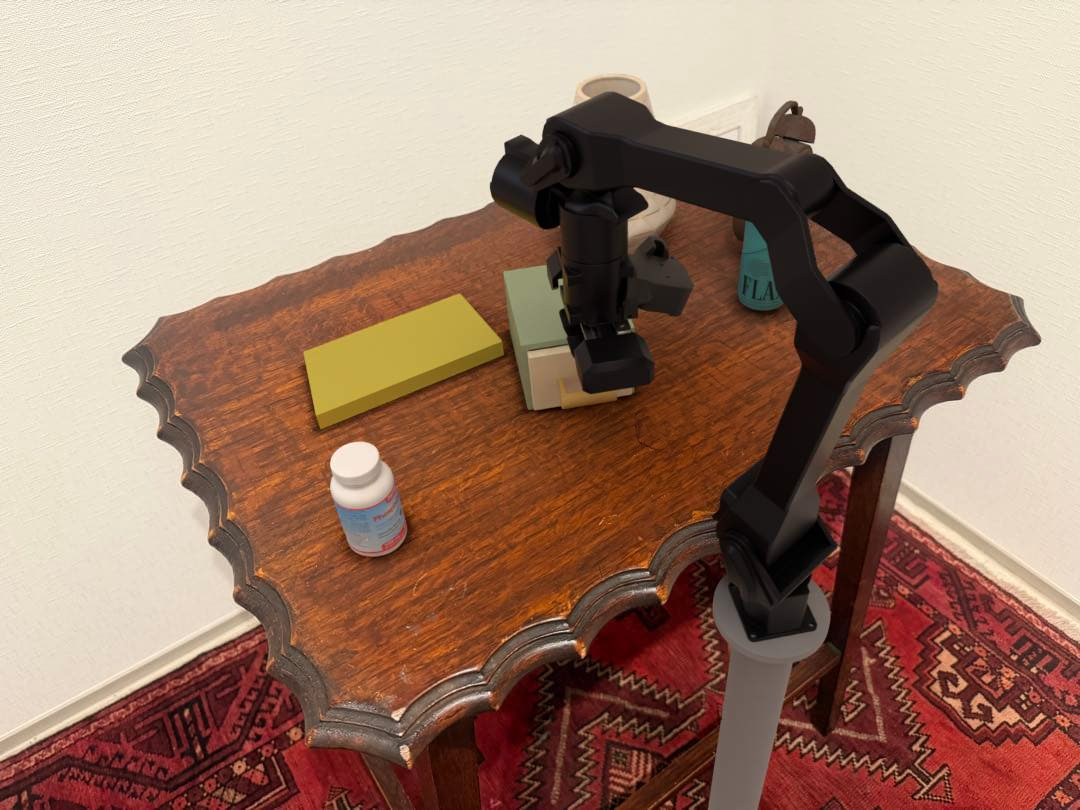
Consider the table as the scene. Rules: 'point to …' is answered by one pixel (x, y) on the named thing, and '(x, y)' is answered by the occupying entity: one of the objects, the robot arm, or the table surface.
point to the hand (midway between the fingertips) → (598, 383)
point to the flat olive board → (397, 358)
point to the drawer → (561, 381)
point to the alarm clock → (784, 141)
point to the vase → (659, 206)
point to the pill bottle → (367, 500)
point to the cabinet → (534, 317)
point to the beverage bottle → (756, 273)
